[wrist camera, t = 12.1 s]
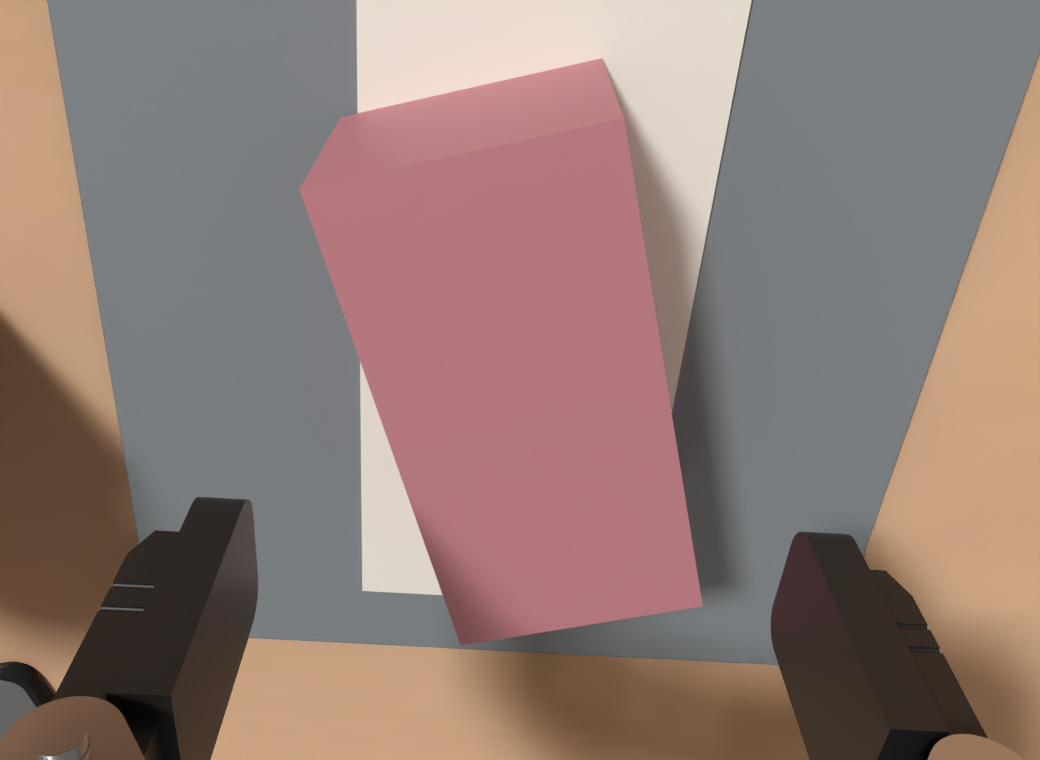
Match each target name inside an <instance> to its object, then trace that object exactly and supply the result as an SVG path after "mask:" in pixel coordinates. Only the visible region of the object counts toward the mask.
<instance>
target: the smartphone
mask: <svg viewBox="0 0 1040 760" xmlns="http://www.w3.org/2000/svg"><path fill="white" fill-rule="evenodd" d="M53 697H54V696H53V694H52V693H51V691H50V690H49V688H48V687H47V685H46V684H45V682H44V681H43V680H42V678H41V677H40V675H39V674H38V672H37V671H36V670H35V669H34V668H32V667H30V666H28V665H26V664H23V663H19V662H6V663H0V740H1V738H2V737H3V736H4V734H5V733H6V732H7V730H8V729H9V728H10V727H11V726H12V725H13V724H14V723H15V722H16V721H18V720H19V719H20V718H21V717H23V716H24V715H25V714H27V713H29V712H30V711H32V710H33V709H35V708H37V707H39V706H41V705H43V704H46V703H49V702H51V701H52V699H53Z"/></svg>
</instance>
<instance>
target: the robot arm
mask: <svg viewBox="0 0 1040 760" xmlns="http://www.w3.org/2000/svg"><path fill="white" fill-rule="evenodd" d="M257 598H258V569H257V556H256V544H255V531H254V518H253V508H252V504H251V501H250V500H248V499H230V498H212V497H197V498H195V500H194V501H193V503H192V505H191V507H190V509H189V511H188V513H187V516H186V518H185V520H184V522H183V524H182V527H181V529H180V531H179V532H178V531H159V530H155V531H154V532H152V533H151V534H150V535H149V536H148V537H147V538H145V539H144V540H143V541H142V542H141V543H140V544H139V545H137V546H136V547H135V548H134V549H133V550H132V551H130V552H129V553H128V554H127V556H126V558H125V560H124V562H123V564H122V566H121V568H120V569H119V571H118V573H117V575H116V577H115V579H114V581H113V587H112V588H110V589H109V591H108V593H107V595H106V597H105V599H104V601H103V603H102V605H101V611H98V612H97V614H96V616H95V618H94V620H93V622H92V624H91V626H90V628H89V630H88V632H87V634H86V636H85V638H84V640H83V642H82V643H81V645H80V647H79V649H78V651H77V653H76V655H75V657H74V659H73V661H72V663H71V665H70V667H69V669H68V671H67V673H66V675H65V677H64V679H63V680H62V682H61V684H60V686H59V688H58V690H57V692H56V694H55V696H54V697H53V699H52V701H51V702H49V703H46V704H43V705H41V706H39V707H37V708H35V709H33V710H32V711H30V712H29V713H27V714H25V715H24V716H23V717H21V718H20V719H19V720H18V721H16V722H15V723H14V724H13V725H12V726H11V727H10V728H9V729H8V730H7V732H6V733H5V734H4V736H3V737H2V738H1V740H0V760H210V759H211V756H212V753H213V750H214V746H215V743H216V740H217V737H218V734H219V730H220V727H221V724H222V721H223V718H224V714H225V711H226V708H227V705H228V702H229V698H230V695H231V692H232V689H233V686H234V682H235V679H236V676H237V673H238V670H239V666H240V663H241V660H242V657H243V653H244V650H245V647H246V644H247V641H248V637H249V634H250V631H251V628H252V625H253V621H254V617H255V612H256V606H257ZM771 639H772V645H773V649H774V652H775V655H776V658H777V661H778V664H779V667H780V670H781V673H782V676H783V680H784V683H785V686H786V689H787V692H788V695H789V698H790V701H791V704H792V707H793V710H794V713H795V716H796V719H797V722H798V725H799V728H800V731H801V734H802V737H803V740H804V743H805V746H806V749H807V752H808V755H809V759H810V760H1024V759H1023V758H1022V757H1020V756H1019V755H1018V754H1016V753H1015V752H1014V751H1012V750H1010V749H1009V748H1007V747H1005V746H1004V745H1002V744H1000V743H997V742H995V741H993V740H990V739H988V738H987V736H986V734H985V732H984V730H983V728H982V726H981V725H980V723H979V721H978V719H977V717H976V715H975V713H974V711H973V710H972V708H971V706H970V704H969V702H968V700H967V698H966V696H965V695H964V693H963V691H962V689H961V687H960V685H959V683H958V681H957V679H956V678H955V676H954V674H953V672H952V670H951V668H950V666H949V664H948V663H947V661H946V659H945V657H944V655H943V654H940V652H939V648H940V647H939V646H938V644H937V642H936V640H935V638H934V636H933V634H932V632H931V631H930V630H927V623H926V621H925V619H924V617H923V616H922V614H921V612H920V610H919V608H918V606H917V604H916V602H915V600H914V599H913V597H912V596H911V595H910V594H909V593H908V592H907V591H906V590H905V589H904V588H903V587H902V586H901V585H900V584H899V583H898V582H897V581H896V580H895V579H894V578H893V577H891V576H890V575H889V574H888V573H887V572H886V571H883V570H870V569H869V567H868V565H867V563H866V561H865V559H864V557H863V555H862V553H861V551H860V549H859V547H858V545H857V543H856V541H855V540H854V538H853V537H852V536H851V535H849V534H837V533H819V532H798V533H797V534H796V535H795V536H794V538H793V540H792V543H791V546H790V549H789V553H788V556H787V560H786V563H785V566H784V570H783V573H782V576H781V580H780V583H779V586H778V590H777V593H776V596H775V600H774V603H773V607H772V612H771Z"/></svg>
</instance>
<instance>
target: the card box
mask: <svg viewBox="0 0 1040 760" xmlns="http://www.w3.org/2000/svg"><path fill="white" fill-rule="evenodd" d="M299 190H300V193H301V195H302V198H303V201H304V204H305V207H306V210H307V212H308V215H309V218H310V221H311V224H312V227H313V229H314V232H315V235H316V238H317V241H318V244H319V246H320V249H321V252H322V255H323V258H324V261H325V263H326V266H327V269H328V272H329V275H330V278H331V280H332V283H333V286H334V289H335V292H336V295H337V297H338V300H339V303H340V306H341V309H342V312H343V314H344V317H345V320H346V323H347V326H348V328H349V331H350V334H351V337H352V340H353V343H354V345H355V348H356V351H357V354H358V357H359V360H360V362H361V365H362V368H363V371H364V374H365V377H366V379H367V382H368V385H369V388H370V391H371V394H372V396H373V399H374V402H375V405H376V408H377V411H378V413H379V416H380V419H381V422H382V425H383V428H384V430H385V433H386V436H387V439H388V442H389V445H390V447H391V450H392V453H393V456H394V459H395V462H396V464H397V467H398V470H399V473H400V476H401V478H402V481H403V484H404V487H405V490H406V493H407V495H408V498H409V501H410V504H411V507H412V510H413V512H414V515H415V518H416V521H417V524H418V527H419V529H420V532H421V535H422V538H423V541H424V544H425V546H426V549H427V552H428V555H429V558H430V561H431V563H432V566H433V569H434V572H435V575H436V578H437V580H438V583H439V586H440V589H441V592H442V595H443V597H444V600H445V603H446V606H447V609H448V611H449V614H450V617H451V620H452V623H453V626H454V628H455V631H456V634H457V637H458V640H459V643H460V645H467V644H473V643H479V642H485V641H491V640H498V639H504V638H510V637H516V636H522V635H529V634H535V633H541V632H547V631H553V630H560V629H566V628H572V627H578V626H584V625H591V624H597V623H603V622H609V621H615V620H622V619H628V618H634V617H640V616H646V615H653V614H659V613H665V612H671V611H677V610H684V609H690V608H696V607H702V606H703V605H702V599H701V593H700V586H699V580H698V574H697V568H696V561H695V555H694V549H693V543H692V537H691V530H690V524H689V518H688V512H687V506H686V499H685V493H684V487H683V481H682V474H681V468H680V462H679V456H678V450H677V443H676V437H675V431H674V425H673V418H672V412H671V406H670V400H669V394H668V387H667V381H666V375H665V369H664V362H663V356H662V350H661V344H660V338H659V331H658V325H657V319H656V313H655V307H654V300H653V294H652V288H651V282H650V275H649V269H648V263H647V257H646V251H645V244H644V238H643V232H642V226H641V219H640V213H639V207H638V201H637V195H636V188H635V182H634V176H633V170H632V164H631V157H630V151H629V145H628V139H627V132H626V126H625V120H624V116H623V114H622V111H621V108H620V106H619V103H618V100H617V97H616V95H615V92H614V89H613V87H612V84H611V81H610V79H609V76H608V73H607V70H606V68H605V65H604V62H603V60H602V58H601V59H596V60H592V61H587V62H583V63H578V64H574V65H570V66H565V67H561V68H556V69H552V70H547V71H543V72H538V73H534V74H530V75H525V76H521V77H516V78H512V79H507V80H503V81H498V82H494V83H490V84H485V85H481V86H476V87H472V88H467V89H463V90H458V91H454V92H450V93H445V94H441V95H436V96H432V97H427V98H423V99H418V100H414V101H410V102H405V103H401V104H396V105H392V106H387V107H383V108H379V109H374V110H370V111H365V112H361V113H356V114H352V115H347V116H343V117H340V119H339V121H338V123H337V124H336V126H335V128H334V129H333V131H332V133H331V135H330V136H329V138H328V140H327V142H326V143H325V145H324V147H323V149H322V150H321V152H320V154H319V156H318V157H317V159H316V161H315V163H314V164H313V166H312V168H311V169H310V171H309V173H308V175H307V176H306V178H305V180H304V182H303V183H302V185H301V187H300V189H299Z"/></svg>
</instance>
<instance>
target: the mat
mask: <svg viewBox="0 0 1040 760" xmlns="http://www.w3.org/2000/svg"><path fill="white" fill-rule="evenodd" d="M47 3H48V9H49V15H50V21H51V27H52V33H53V39H54V45H55V51H56V56H57V62H58V68H59V74H60V80H61V86H62V92H63V98H64V104H65V110H66V116H67V121H68V127H69V133H70V139H71V145H72V151H73V157H74V163H75V169H76V175H77V181H78V186H79V192H80V198H81V204H82V210H83V216H84V222H85V228H86V234H87V240H88V246H89V251H90V257H91V263H92V269H93V275H94V281H95V287H96V293H97V299H98V305H99V311H100V316H101V322H102V328H103V334H104V340H105V346H106V352H107V358H108V364H109V370H110V376H111V381H112V387H113V393H114V399H115V405H116V411H117V417H118V423H119V429H120V435H121V441H122V446H123V452H124V458H125V464H126V470H127V476H128V482H129V488H130V494H131V500H132V506H133V511H134V517H135V523H136V529H137V535H138V541H139V544H140V543H141V542H142V541H143V540H144V539H145V538H147V537H148V536H149V535H150V534H151V533H152V532H154V531H155V530H159V531H178V532H179V531H180V529H181V527H182V524H183V522H184V520H185V518H186V516H187V513H188V511H189V509H190V507H191V505H192V503H193V501H194V500H195V498H197V497H212V498H230V499H248V500H250V501H251V504H252V508H253V518H254V531H255V544H256V556H257V569H258V598H257V606H256V612H255V617H254V621H253V625H252V628H251V631H250V634H249V637H248V638H261V639H281V640H300V641H320V642H339V643H359V644H378V645H398V646H418V647H437V648H457V649H476V650H496V651H515V652H535V653H555V654H574V655H594V656H613V657H633V658H652V659H672V660H692V661H711V662H731V663H750V664H770V665H779V664H778V661H777V658H776V655H775V652H774V649H773V645H772V639H771V612H772V607H773V603H774V600H775V596H776V593H777V590H778V586H779V583H780V580H781V576H782V573H783V570H784V566H785V563H786V560H787V556H788V553H789V549H790V546H791V543H792V540H793V538H794V536H795V535H796V534H797V533H798V532H819V533H837V534H849V535H851V536H852V537H853V538H854V540H855V541H856V543H857V545H858V547H859V549H860V551H861V553H862V555H863V553H864V551H865V548H866V545H867V542H868V539H869V536H870V533H871V531H872V528H873V525H874V522H875V519H876V516H877V513H878V511H879V508H880V505H881V502H882V499H883V496H884V494H885V491H886V488H887V485H888V482H889V479H890V476H891V474H892V471H893V468H894V465H895V462H896V459H897V457H898V454H899V451H900V448H901V445H902V442H903V439H904V437H905V434H906V431H907V428H908V425H909V422H910V419H911V417H912V414H913V411H914V408H915V405H916V402H917V400H918V397H919V394H920V391H921V388H922V385H923V382H924V380H925V377H926V374H927V371H928V368H929V365H930V363H931V360H932V357H933V354H934V351H935V348H936V345H937V343H938V340H939V337H940V334H941V331H942V328H943V325H944V323H945V320H946V317H947V314H948V311H949V308H950V306H951V303H952V300H953V297H954V294H955V291H956V288H957V286H958V283H959V280H960V277H961V274H962V271H963V269H964V266H965V263H966V260H967V257H968V254H969V251H970V249H971V246H972V243H973V240H974V237H975V234H976V231H977V229H978V226H979V223H980V220H981V217H982V214H983V212H984V209H985V206H986V203H987V200H988V197H989V194H990V192H991V189H992V186H993V183H994V180H995V177H996V174H997V172H998V169H999V166H1000V163H1001V160H1002V157H1003V155H1004V152H1005V149H1006V146H1007V143H1008V140H1009V137H1010V135H1011V132H1012V129H1013V126H1014V123H1015V120H1016V118H1017V115H1018V112H1019V109H1020V106H1021V103H1022V100H1023V98H1024V95H1025V92H1026V89H1027V86H1028V83H1029V80H1030V78H1031V75H1032V72H1033V69H1034V66H1035V63H1036V61H1037V58H1038V55H1039V52H1040V0H47ZM601 58H602V60H603V62H604V65H605V68H606V70H607V73H608V76H609V79H610V81H611V84H612V87H613V89H614V92H615V95H616V97H617V100H618V103H619V106H620V108H621V111H622V114H623V116H624V120H625V126H626V132H627V139H628V145H629V151H630V157H631V164H632V170H633V176H634V182H635V188H636V195H637V201H638V207H639V213H640V219H641V226H642V232H643V238H644V244H645V251H646V257H647V263H648V269H649V275H650V282H651V288H652V294H653V300H654V307H655V313H656V319H657V325H658V331H659V338H660V344H661V350H662V356H663V362H664V369H665V375H666V381H667V387H668V394H669V400H670V406H671V412H672V418H673V425H674V431H675V437H676V443H677V450H678V456H679V462H680V468H681V474H682V481H683V487H684V493H685V499H686V506H687V512H688V518H689V524H690V530H691V537H692V543H693V549H694V555H695V561H696V568H697V574H698V580H699V586H700V593H701V599H702V605H703V606H702V607H696V608H690V609H684V610H677V611H671V612H665V613H659V614H653V615H646V616H640V617H634V618H628V619H622V620H615V621H609V622H603V623H597V624H591V625H584V626H578V627H572V628H566V629H560V630H553V631H547V632H541V633H535V634H529V635H522V636H516V637H510V638H504V639H498V640H491V641H485V642H479V643H473V644H467V645H460V643H459V640H458V637H457V634H456V631H455V628H454V626H453V623H452V620H451V617H450V614H449V611H448V609H447V606H446V603H445V600H444V597H443V595H442V592H441V589H440V586H439V583H438V580H437V578H436V575H435V572H434V569H433V566H432V563H431V561H430V558H429V555H428V552H427V549H426V546H425V544H424V541H423V538H422V535H421V532H420V529H419V527H418V524H417V521H416V518H415V515H414V512H413V510H412V507H411V504H410V501H409V498H408V495H407V493H406V490H405V487H404V484H403V481H402V478H401V476H400V473H399V470H398V467H397V464H396V462H395V459H394V456H393V453H392V450H391V447H390V445H389V442H388V439H387V436H386V433H385V430H384V428H383V425H382V422H381V419H380V416H379V413H378V411H377V408H376V405H375V402H374V399H373V396H372V394H371V391H370V388H369V385H368V382H367V379H366V377H365V374H364V371H363V368H362V365H361V362H360V360H359V357H358V354H357V351H356V348H355V345H354V343H353V340H352V337H351V334H350V331H349V328H348V326H347V323H346V320H345V317H344V314H343V312H342V309H341V306H340V303H339V300H338V297H337V295H336V292H335V289H334V286H333V283H332V280H331V278H330V275H329V272H328V269H327V266H326V263H325V261H324V258H323V255H322V252H321V249H320V246H319V244H318V241H317V238H316V235H315V232H314V229H313V227H312V224H311V221H310V218H309V215H308V212H307V210H306V207H305V204H304V201H303V198H302V195H301V193H300V190H299V189H300V187H301V185H302V183H303V182H304V180H305V178H306V176H307V175H308V173H309V171H310V169H311V168H312V166H313V164H314V163H315V161H316V159H317V157H318V156H319V154H320V152H321V150H322V149H323V147H324V145H325V143H326V142H327V140H328V138H329V136H330V135H331V133H332V131H333V129H334V128H335V126H336V124H337V123H338V121H339V119H340V117H343V116H347V115H352V114H356V113H361V112H365V111H370V110H374V109H379V108H383V107H387V106H392V105H396V104H401V103H405V102H410V101H414V100H418V99H423V98H427V97H432V96H436V95H441V94H445V93H450V92H454V91H458V90H463V89H467V88H472V87H476V86H481V85H485V84H490V83H494V82H498V81H503V80H507V79H512V78H516V77H521V76H525V75H530V74H534V73H538V72H543V71H547V70H552V69H556V68H561V67H565V66H570V65H574V64H578V63H583V62H587V61H592V60H596V59H601Z"/></svg>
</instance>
